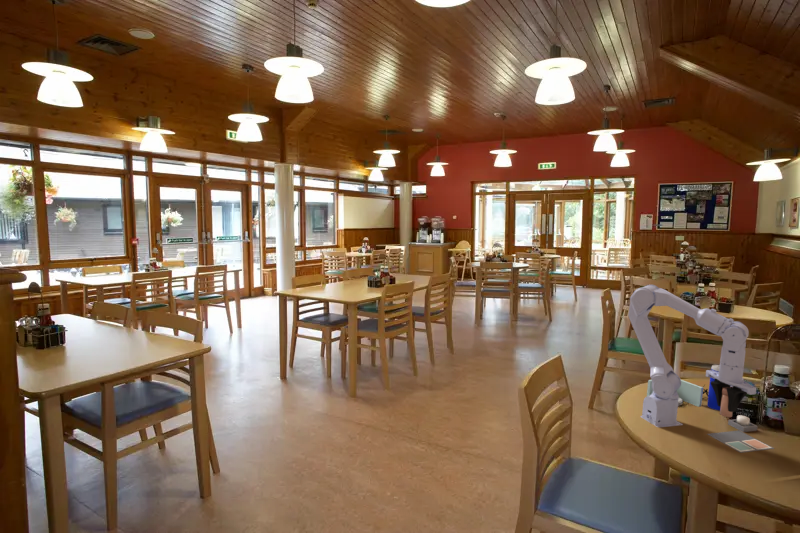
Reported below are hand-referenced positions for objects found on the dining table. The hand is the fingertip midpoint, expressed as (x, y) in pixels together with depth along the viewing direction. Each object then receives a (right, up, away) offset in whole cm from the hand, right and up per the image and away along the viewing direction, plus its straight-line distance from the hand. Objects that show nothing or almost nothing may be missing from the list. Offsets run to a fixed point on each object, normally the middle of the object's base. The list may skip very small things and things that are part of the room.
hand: (726, 408), depth 138 cm
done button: (+11, -7, +8) cm, 15 cm away
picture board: (+3, -10, -1) cm, 10 cm away
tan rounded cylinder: (0, -2, 0) cm, 2 cm away
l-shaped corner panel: (0, -7, +28) cm, 29 cm away
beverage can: (+12, -7, +23) cm, 27 cm away
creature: (+14, -6, +33) cm, 37 cm away
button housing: (+11, -9, +8) cm, 16 cm away
